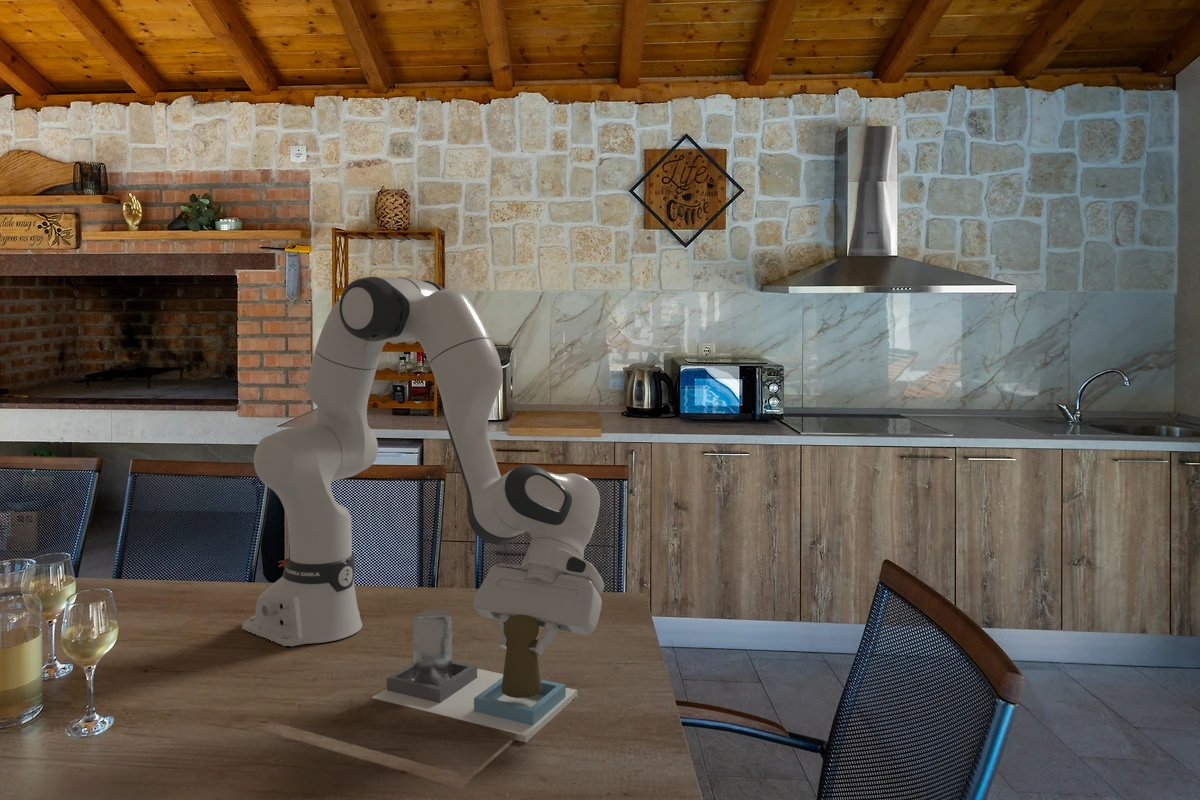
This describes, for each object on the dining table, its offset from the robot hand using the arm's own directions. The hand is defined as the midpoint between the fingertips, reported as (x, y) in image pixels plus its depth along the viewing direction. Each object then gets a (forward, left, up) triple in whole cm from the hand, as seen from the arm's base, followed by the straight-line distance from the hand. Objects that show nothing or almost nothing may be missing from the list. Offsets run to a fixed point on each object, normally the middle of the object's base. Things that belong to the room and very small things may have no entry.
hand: (518, 650), depth 123 cm
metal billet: (-16, +1, -9) cm, 18 cm away
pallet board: (-8, +1, -10) cm, 13 cm away
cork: (0, +1, -6) cm, 6 cm away
